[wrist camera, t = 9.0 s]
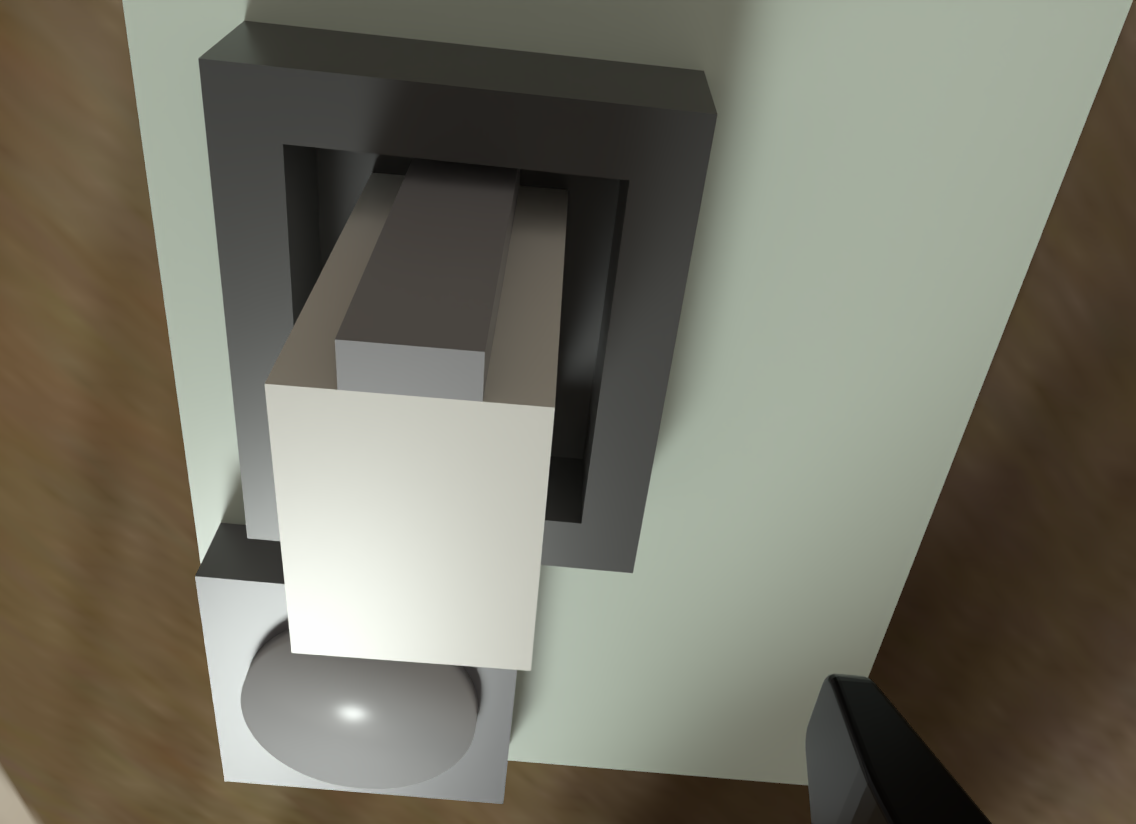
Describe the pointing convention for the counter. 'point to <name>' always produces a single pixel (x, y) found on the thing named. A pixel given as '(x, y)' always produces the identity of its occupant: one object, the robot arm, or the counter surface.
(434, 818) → the counter surface
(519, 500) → the plug
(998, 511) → the counter surface
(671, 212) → the board
